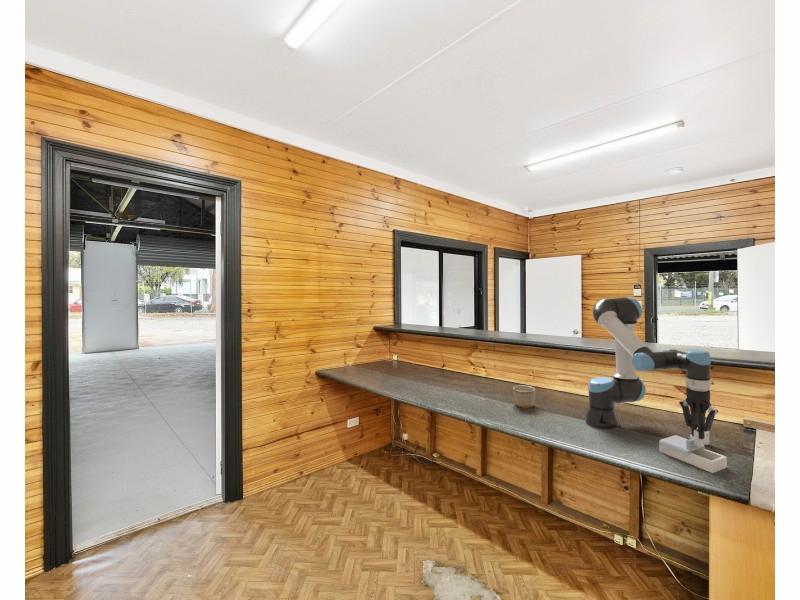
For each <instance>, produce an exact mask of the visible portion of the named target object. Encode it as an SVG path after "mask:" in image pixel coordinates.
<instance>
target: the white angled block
mask: <svg viewBox="0 0 800 600" xmlns="http://www.w3.org/2000/svg"><path fill="white" fill-rule="evenodd" d="M705 422H706V420H705ZM697 429H698V428H697ZM692 438H694V437H693V436H692V434H689V439H692ZM702 445H706V446H708V445H710V431H707V432H704V439H702Z"/></svg>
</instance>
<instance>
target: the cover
mask: <svg viewBox="0 0 800 600" xmlns="http://www.w3.org/2000/svg"><path fill="white" fill-rule="evenodd" d="M659 445H660V446H662V447H665V448H667V449H670V450H672V451H675V452H677V453H680V454H683V455H685V456H688V452H691V451H694V450H697V449H700V448H704V449H706V448H705V447H706V446H705V445H702V446H699V447H697V446H694V438H692V439H690V438H689V439H688V438H685V437H683V436H679V435H676V434H674V435H671V436H669V437H665V438H662V439H660V440H658V446H659Z"/></svg>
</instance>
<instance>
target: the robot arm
mask: <svg viewBox="0 0 800 600" xmlns="http://www.w3.org/2000/svg"><path fill="white" fill-rule="evenodd" d="M642 308H643V307H642V305H641V303H640V302H639V301H638V299H636V298H634V297H624V296H623V297H616V298H615V297H613V298H604V299H600V300H599V301H597V302H595V304H594V306H593V308H592V317H593V319H594V321H595V322H596V323H597V324H598V326H600V327H601V328H602V327H603V328H605V330H606V331H607V332H608V333H609V334H610V335H611V336H612V337H613V338H614V349H615V350H614V351H615V371H616V372H615V373H614V374H613V375H612V378H611V377H609V376H597V377H593V378H591V379H590V380H589V381H588V387H587V388H588V409H587V412H586V415H585V423H586V424H587V425H588V424H589V426H590V425H591V426H590V427H593V426H594V427H593V428H596V427H597V429H601V428H602V429H603V430H613V429H617V428H618V427H620V426H619V425H620V424H619V422H620V421H619V418H618V417H617V414H616V410H615V404H620V403H621V404H622V403H623V404H624V403H634V402H635V403H636V402H640V401H641V400H643V399H644V397H645V396H646V391H647V390H646V385H645V383H644V382H643V380H642V379H640V375H639V374H637V372H636V371H641V372H644V371H645V372H650V371H660V370H674V369H677V370H681V371H683V372H685V373H686V375H685V377H686V379H685V380H686V381H685V383H686V384H685V385H686V389H685V390H686V391H685V396H686V398H685V400H681V401H679V402H678V403H679V405H680V407H681V411H682V413H683V417H684V420H685V425H686V427H689V428H691V435H692V436H693V437H694V446H697V447H699V446H702V439H704V432H707V431H709V432H710V431H711V429H712V425H713V422H714V419H715V416H716V415H717V414H718V413H719V410H718V409H715V408H713V407H712V403H711V391H710V390H711V363H712V360H711V353H710V352H709V351H707V350H703V349H702V350H701V349H688V350H686V352H685V351H681V350H678V349H676V348H673V349H672V348H665V349H664V350H662V351H653V350H652V349H651V348H650V347H648V345H646V343H644V342H643V340H641V339H640V337H638V336H637V334H635V329H634V328H635V326H636V325H637V324H638V320H639V319H640V318H641V317H642V316H643V309H642ZM707 410H708V414H707V415H706V413H707ZM705 421H706V422H705ZM697 428H698V429H697Z"/></svg>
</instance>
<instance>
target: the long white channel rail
mask: <svg viewBox="0 0 800 600" xmlns="http://www.w3.org/2000/svg"><path fill="white" fill-rule="evenodd" d="M658 451H659V452H660V453H662V454H665V455H666V456H670V457H672V458H673V459H677V460H679V461H682V462H684V463H687V464H689V465H692V466H695V467H696V468H699V469H702V470H703V471H706V472H709V473H711V474H714V473H717V472H719V471H722V470H725V469H726V468H727V467H728V465H727V460H728V459H727V456H725V455H723V454H720V453H717V452H714V451H711V450H709V449H706V448H705V449H704V448H700V449H697V450H694V451H691V452H688V456H685V455H683V454H680V453H677V452H675V451H672V450H670V449H667V448H665V447H662V446H660V445H659V444H658Z"/></svg>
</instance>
